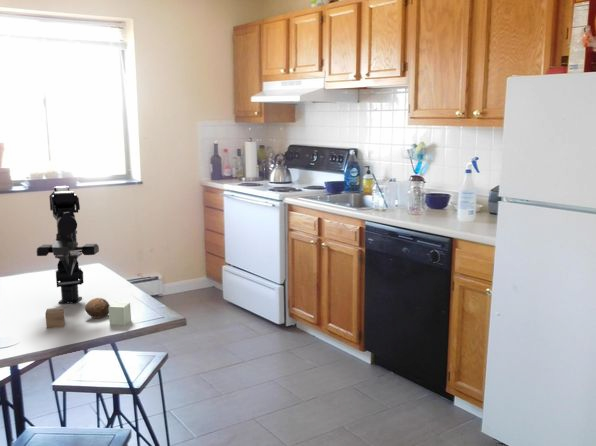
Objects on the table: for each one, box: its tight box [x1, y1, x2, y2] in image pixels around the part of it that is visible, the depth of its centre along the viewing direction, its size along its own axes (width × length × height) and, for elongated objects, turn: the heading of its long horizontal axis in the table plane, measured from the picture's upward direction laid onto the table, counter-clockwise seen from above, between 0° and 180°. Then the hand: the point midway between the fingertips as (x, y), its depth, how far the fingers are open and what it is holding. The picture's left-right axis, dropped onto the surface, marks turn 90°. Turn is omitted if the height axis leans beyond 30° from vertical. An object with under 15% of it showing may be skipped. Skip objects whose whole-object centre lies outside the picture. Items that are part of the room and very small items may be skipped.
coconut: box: [84, 297, 111, 319], centre depth 193 cm, size 8×8×6 cm
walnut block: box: [45, 307, 66, 329], centre depth 185 cm, size 5×5×5 cm
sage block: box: [108, 301, 132, 326], centre depth 187 cm, size 5×5×6 cm
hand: (70, 274), depth 196 cm, fingers closed
